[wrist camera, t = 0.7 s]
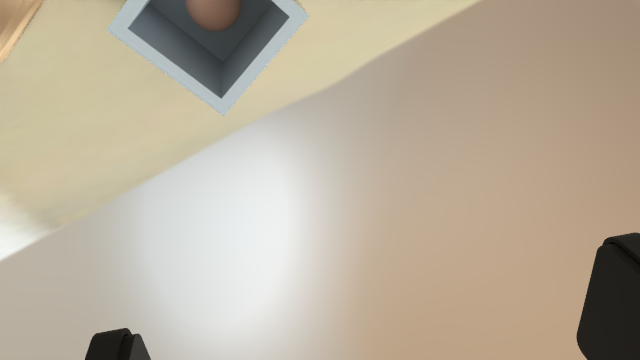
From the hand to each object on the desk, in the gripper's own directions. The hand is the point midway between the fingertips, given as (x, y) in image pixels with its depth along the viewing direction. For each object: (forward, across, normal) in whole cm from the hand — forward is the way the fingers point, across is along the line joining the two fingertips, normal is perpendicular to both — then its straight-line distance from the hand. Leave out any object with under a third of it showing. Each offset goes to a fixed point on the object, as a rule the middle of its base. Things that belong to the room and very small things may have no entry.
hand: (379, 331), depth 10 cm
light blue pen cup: (+26, +4, -3) cm, 27 cm away
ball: (+24, +4, -3) cm, 24 cm away
